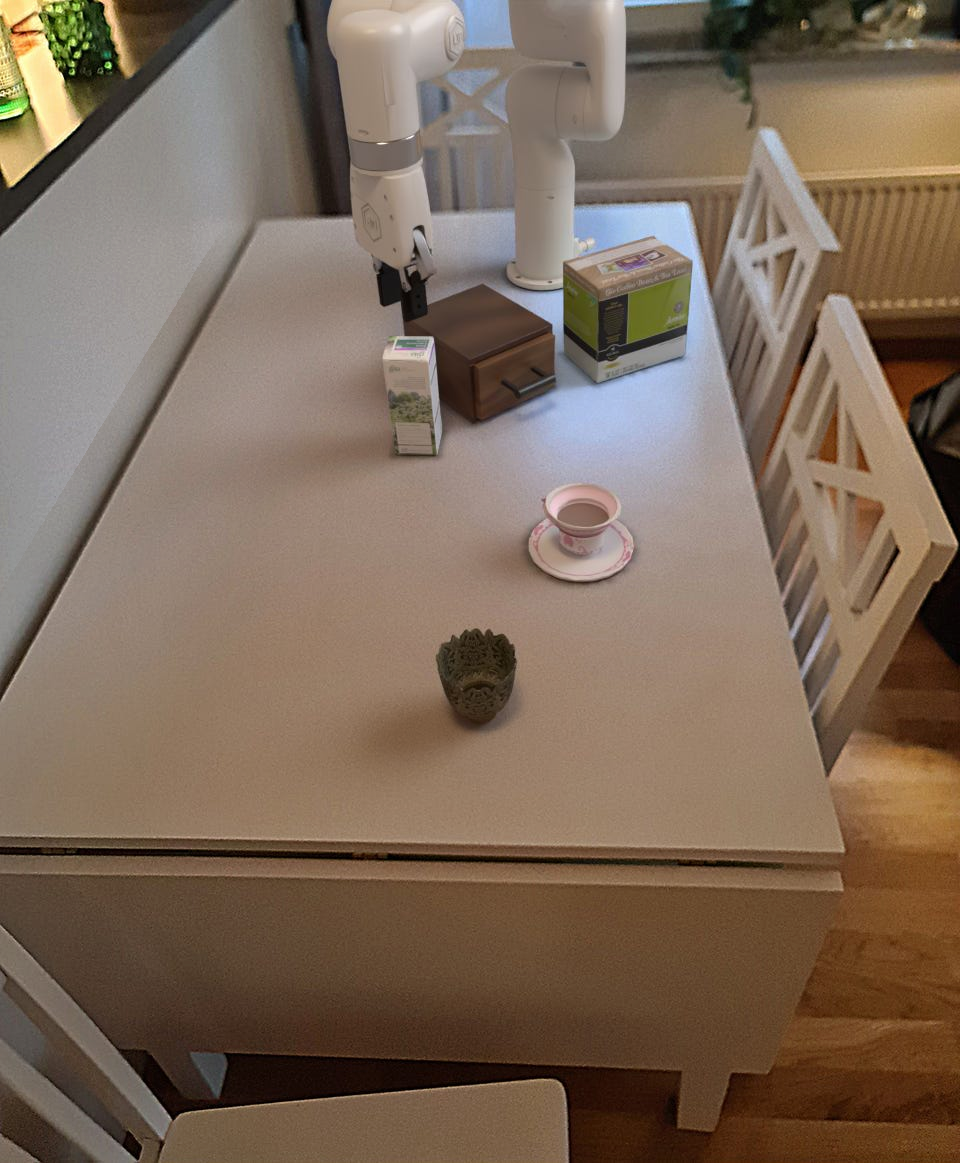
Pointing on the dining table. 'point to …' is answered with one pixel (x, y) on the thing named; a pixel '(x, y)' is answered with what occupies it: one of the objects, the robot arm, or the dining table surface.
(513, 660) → the cup
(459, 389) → the cabinet
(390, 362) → the syrup box
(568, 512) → the teacup
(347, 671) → the dining table surface
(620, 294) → the tea box
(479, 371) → the drawer
